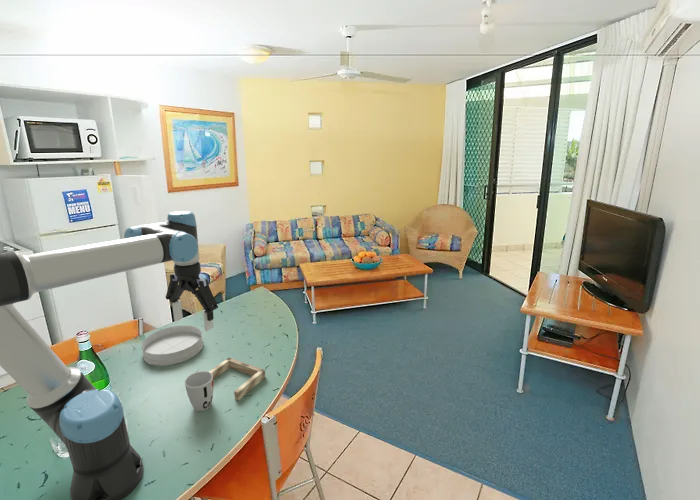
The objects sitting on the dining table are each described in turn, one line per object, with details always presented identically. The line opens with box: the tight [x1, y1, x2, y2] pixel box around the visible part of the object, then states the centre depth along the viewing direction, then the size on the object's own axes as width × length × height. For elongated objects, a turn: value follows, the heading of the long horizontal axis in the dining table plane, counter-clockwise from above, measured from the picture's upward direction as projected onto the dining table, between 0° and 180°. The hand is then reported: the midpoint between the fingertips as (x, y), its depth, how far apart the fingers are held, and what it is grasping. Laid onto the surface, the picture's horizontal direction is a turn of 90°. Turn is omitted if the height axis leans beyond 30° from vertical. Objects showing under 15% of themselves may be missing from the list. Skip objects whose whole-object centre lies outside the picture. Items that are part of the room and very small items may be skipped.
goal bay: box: [208, 357, 266, 401], centre depth 129 cm, size 14×17×3 cm
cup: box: [184, 370, 214, 412], centre depth 116 cm, size 8×8×10 cm
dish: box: [141, 325, 204, 366], centre depth 148 cm, size 22×22×5 cm
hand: (193, 324), depth 119 cm, fingers open, 13 cm apart
